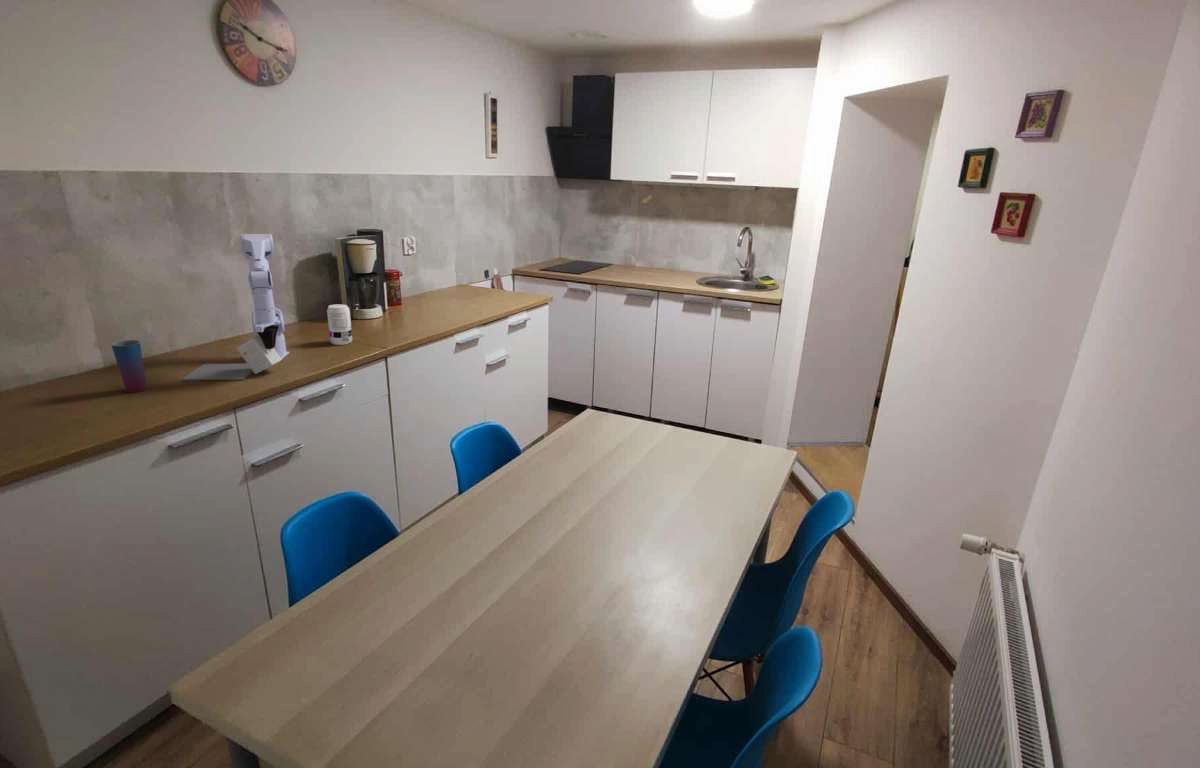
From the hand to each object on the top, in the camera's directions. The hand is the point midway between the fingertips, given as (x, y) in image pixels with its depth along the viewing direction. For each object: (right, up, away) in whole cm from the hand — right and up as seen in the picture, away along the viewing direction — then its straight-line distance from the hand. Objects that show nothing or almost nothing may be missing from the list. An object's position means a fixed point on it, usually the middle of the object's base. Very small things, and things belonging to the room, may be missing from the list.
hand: (270, 348), depth 198 cm
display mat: (-16, -8, +1) cm, 18 cm away
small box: (-2, -7, +2) cm, 7 cm away
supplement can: (+6, +4, +40) cm, 41 cm away
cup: (-31, -14, -17) cm, 38 cm away
